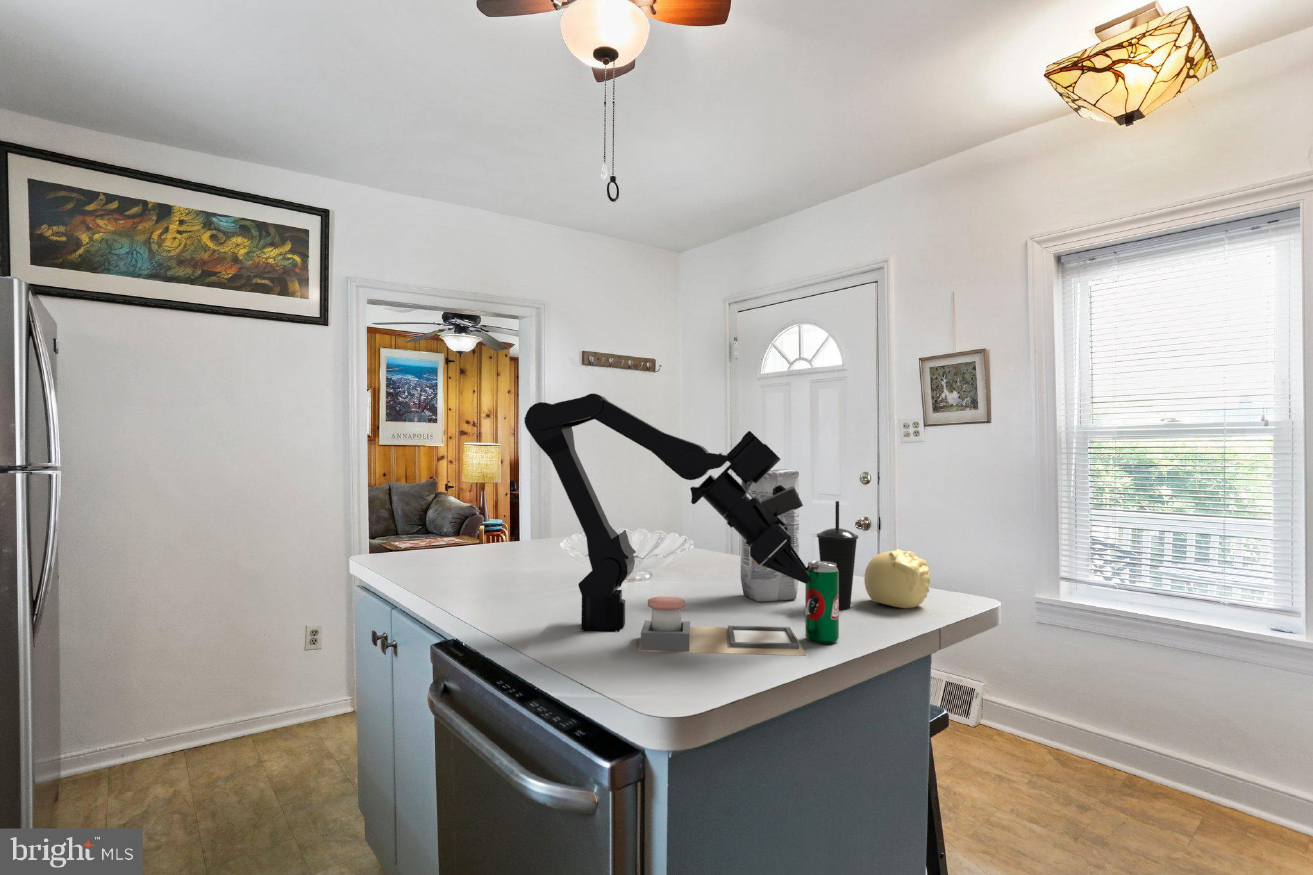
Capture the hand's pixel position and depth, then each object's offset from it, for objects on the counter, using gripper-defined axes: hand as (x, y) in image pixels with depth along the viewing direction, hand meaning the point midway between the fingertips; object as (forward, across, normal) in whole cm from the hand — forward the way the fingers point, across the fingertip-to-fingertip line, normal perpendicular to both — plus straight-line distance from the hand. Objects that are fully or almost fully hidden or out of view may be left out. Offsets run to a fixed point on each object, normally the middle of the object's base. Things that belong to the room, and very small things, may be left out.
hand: (806, 575), depth 104 cm
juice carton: (+3, +29, +11) cm, 32 cm away
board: (-3, -4, +16) cm, 17 cm away
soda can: (+9, 0, +6) cm, 10 cm away
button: (-10, -8, +20) cm, 24 cm away
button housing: (-8, -8, +21) cm, 24 cm away
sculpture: (+21, +28, -6) cm, 35 cm away
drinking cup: (+12, +24, +2) cm, 27 cm away
